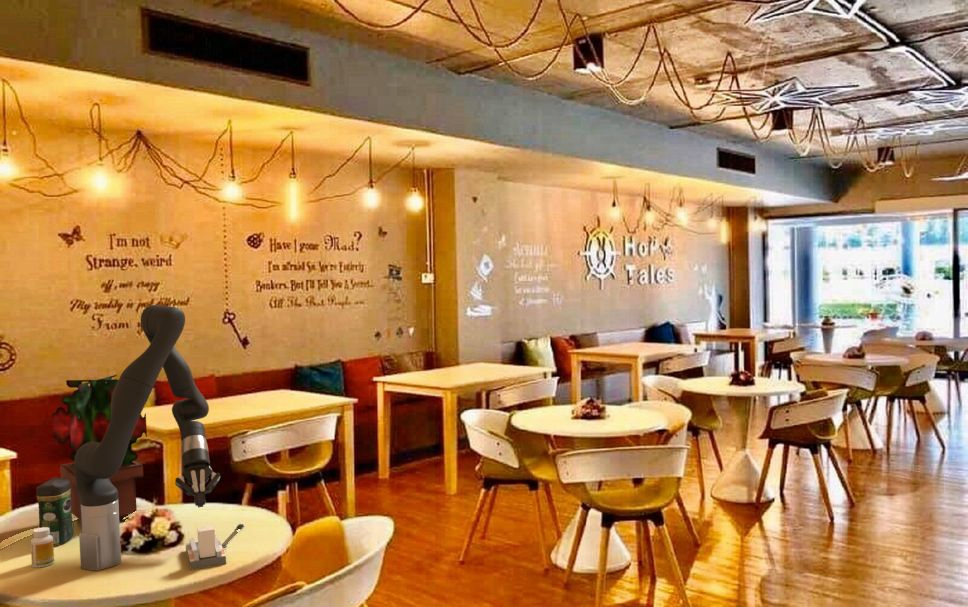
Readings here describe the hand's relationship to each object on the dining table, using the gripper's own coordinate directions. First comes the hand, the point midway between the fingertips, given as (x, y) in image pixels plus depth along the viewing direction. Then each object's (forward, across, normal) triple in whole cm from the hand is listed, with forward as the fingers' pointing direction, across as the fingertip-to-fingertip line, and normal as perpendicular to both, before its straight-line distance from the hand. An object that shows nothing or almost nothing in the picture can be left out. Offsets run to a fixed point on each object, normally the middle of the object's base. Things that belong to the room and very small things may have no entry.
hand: (200, 505), depth 230 cm
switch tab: (+16, 0, -2) cm, 16 cm away
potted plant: (-23, -26, +41) cm, 53 cm away
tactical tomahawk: (+6, +9, +13) cm, 17 cm away
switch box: (+14, 0, +3) cm, 15 cm away
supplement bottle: (+3, -41, +15) cm, 43 cm away
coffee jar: (-10, -38, +28) cm, 49 cm away
